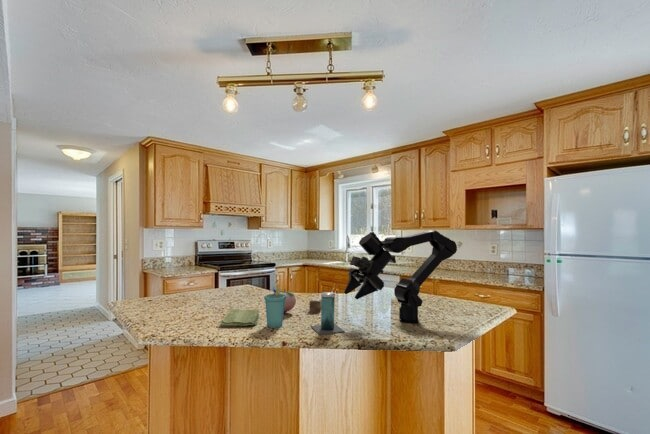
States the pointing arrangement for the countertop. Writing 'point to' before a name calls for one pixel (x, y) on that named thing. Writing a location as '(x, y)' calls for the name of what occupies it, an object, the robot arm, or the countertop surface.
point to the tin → (327, 310)
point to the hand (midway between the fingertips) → (350, 295)
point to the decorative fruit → (288, 300)
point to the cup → (275, 307)
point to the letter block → (315, 305)
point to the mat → (323, 332)
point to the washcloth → (240, 318)
